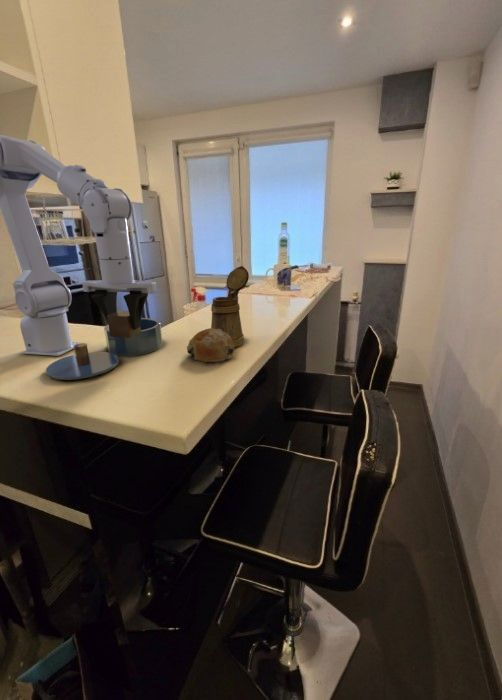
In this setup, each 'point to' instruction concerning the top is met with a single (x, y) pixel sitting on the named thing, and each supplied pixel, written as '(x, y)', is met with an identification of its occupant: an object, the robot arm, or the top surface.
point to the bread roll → (211, 346)
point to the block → (121, 325)
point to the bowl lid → (82, 364)
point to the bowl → (136, 340)
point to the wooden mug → (230, 307)
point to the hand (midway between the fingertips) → (125, 327)
